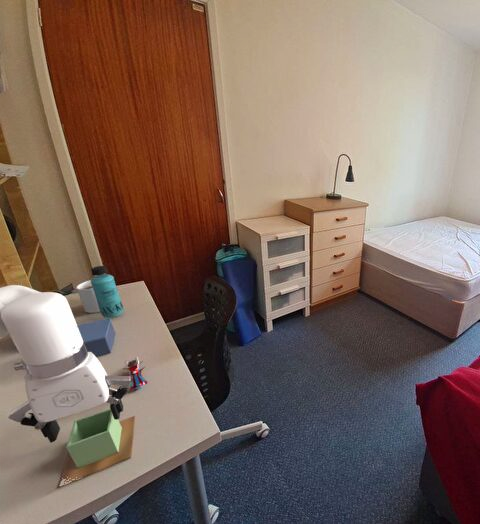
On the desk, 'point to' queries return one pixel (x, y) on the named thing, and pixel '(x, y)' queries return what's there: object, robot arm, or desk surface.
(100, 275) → the beverage bottle
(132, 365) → the toy action figure
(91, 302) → the mug
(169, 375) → the desk surface
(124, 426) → the cork mat
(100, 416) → the green tub
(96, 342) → the blue block
